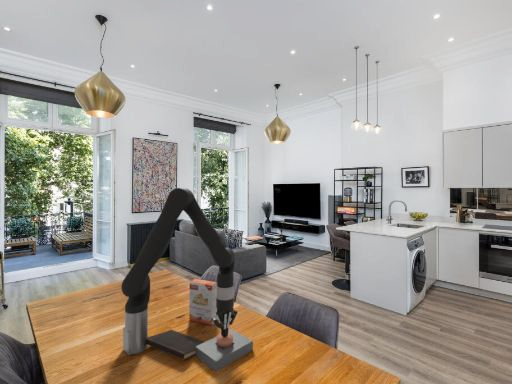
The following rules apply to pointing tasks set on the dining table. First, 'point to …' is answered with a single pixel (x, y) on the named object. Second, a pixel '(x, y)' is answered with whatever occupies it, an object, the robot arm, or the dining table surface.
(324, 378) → the dining table surface
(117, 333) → the dining table surface
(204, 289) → the cracker box
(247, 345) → the mount
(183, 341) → the hardcover book
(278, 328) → the dining table surface
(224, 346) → the knob
